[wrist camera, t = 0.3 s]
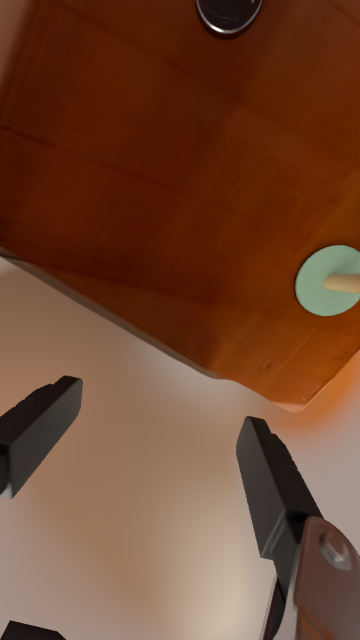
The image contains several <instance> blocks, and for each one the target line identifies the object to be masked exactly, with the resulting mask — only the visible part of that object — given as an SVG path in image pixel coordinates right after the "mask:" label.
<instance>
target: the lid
mask: <svg viewBox="0 0 360 640" xmlns="http://www.w3.org/2000/svg"><path fill="white" fill-rule="evenodd" d="M295 290H296V295H297V298H298V300H299V302H300V304H301V305H302V306H303V307H304V308H305V309H306V310H308V311H309V312H311V313H314V314H317V315H321V316H331V315H336V314H339V313H342V312H344V311H346V310H348V309H349V308H351V307H352V306H353V305H354V304H355V303H356V302H357V301H358V300H359V299H360V253H359V252H358V251H357V250H355V249H353V248H351V247H348V246H342V245H335V246H329V247H326V248H323V249H321V250H319V251H317V252H315V253H314V254H312V255H311V256H310V257H309V258H308V259H307V260H306V261H305V262H304V263H303V265H302V266H301V268H300V270H299V272H298V275H297V278H296V283H295Z"/></svg>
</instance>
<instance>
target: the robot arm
mask: <svg viewBox="0 0 360 640" xmlns="http://www.w3.org/2000/svg"><path fill="white" fill-rule="evenodd" d="M262 1H263V0H195V2H196V8H197V12H198V15H199V18H200V20H201V22H202V24H203V25H204V27H205V28H206V29H207V30H208V31H209V32H210V33H212V34H213V35H215V36H217V37H220V38H233V37H236V36H238V35H240V34H242V33H243V32H244V31H246V30H247V29H248V28H249V27H250V26H251V24H252V23H253V22H254V20H255V18H256V17H257V15H258V13H259V10H260V7H261V4H262ZM82 384H83V381H82V379H80V378H75V377H71V376H63V377H62V378H60V379H59V380H58V381H57V382H56V383H55V384H48V385H45V386H43V387H41V388H39V389H36V390H35V391H34V392H32V393H31V394H30V395H28V396H27V397H26V398H25V399H24V400H22V401H21V402H19V403H18V404H17V405H16V406H15V407H13V408H11V409H10V410H9V411H8V412H6V413H5V414H4V415H2V416H1V417H0V496H1V497H5V498H9V499H13V498H14V496H15V495H16V494H17V492H18V491H19V490H20V489H21V487H22V486H23V485H24V484H25V482H26V481H27V480H28V479H29V477H30V476H31V475H32V473H33V472H34V471H35V470H36V468H37V467H38V466H39V465H40V463H41V462H42V461H43V460H44V458H45V457H46V456H47V454H48V453H49V452H50V451H51V449H52V448H53V447H54V446H55V444H56V443H57V442H58V440H59V439H60V438H61V437H62V435H63V434H64V433H65V432H66V430H67V429H68V428H69V426H70V425H71V424H72V423H73V421H74V420H75V419H76V417H77V415H78V413H79V411H80V407H81V397H82ZM236 455H237V459H238V463H239V468H240V472H241V476H242V480H243V485H244V489H245V493H246V497H247V502H248V506H249V511H250V514H251V519H252V523H253V528H254V532H255V536H256V540H257V544H258V549H259V553H260V557H261V558H266V559H270V560H273V561H274V565H275V568H276V572H277V573H276V574H275V577H274V580H273V584H272V588H271V592H270V597H269V601H268V605H267V609H266V613H265V617H264V621H263V626H262V630H261V634H260V638H259V640H360V556H359V554H358V553H357V551H356V550H355V548H354V547H353V545H352V544H351V543H350V541H349V540H348V539H347V538H346V537H345V536H344V534H343V533H342V532H341V531H340V530H339V529H337V528H336V527H335V526H334V525H332V524H331V523H330V522H328V521H326V520H325V519H324V518H323V516H322V514H321V512H320V510H319V508H318V507H317V505H316V503H315V501H314V499H313V497H312V495H311V493H310V491H309V489H308V488H307V486H306V484H305V482H304V480H303V478H302V476H301V474H300V473H299V471H298V470H297V467H296V465H295V463H294V461H293V460H292V457H291V455H290V453H289V451H288V450H287V448H286V446H285V444H284V443H283V442H282V441H281V440H280V439H279V438H278V436H277V435H276V434H272V433H271V431H270V429H269V427H268V425H267V423H266V421H265V420H264V419H260V418H255V417H251V416H247V417H246V418H245V421H244V423H243V426H242V429H241V431H240V434H239V437H238V440H237V444H236ZM0 640H66V639H65V638H64V637H63V636H62V635H61V634H59V633H58V632H57V631H53V630H49V629H45V628H41V627H36V626H32V625H28V624H23V623H19V622H15V621H11V620H10V622H9V623H8V625H7V627H6V629H5V631H4V633H3V635H2V637H1V639H0Z"/></svg>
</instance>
